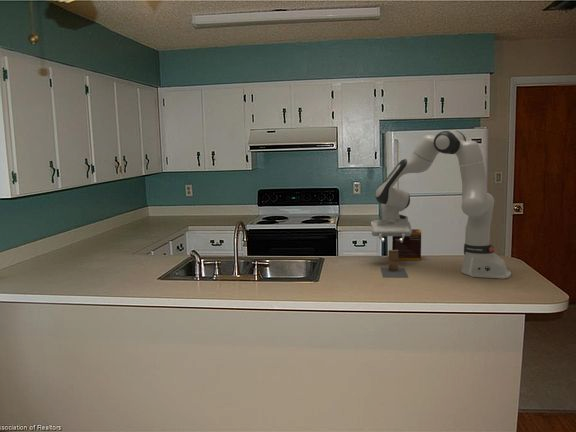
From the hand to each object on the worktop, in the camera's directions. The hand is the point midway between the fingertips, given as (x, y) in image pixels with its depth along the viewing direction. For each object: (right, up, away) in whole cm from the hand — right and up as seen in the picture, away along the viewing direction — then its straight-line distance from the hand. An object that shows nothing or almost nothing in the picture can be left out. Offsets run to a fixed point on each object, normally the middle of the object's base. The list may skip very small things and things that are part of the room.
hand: (392, 242), depth 265 cm
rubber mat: (-1, -15, -10) cm, 18 cm away
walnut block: (-1, -14, -6) cm, 15 cm away
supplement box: (+12, -10, +21) cm, 26 cm away
